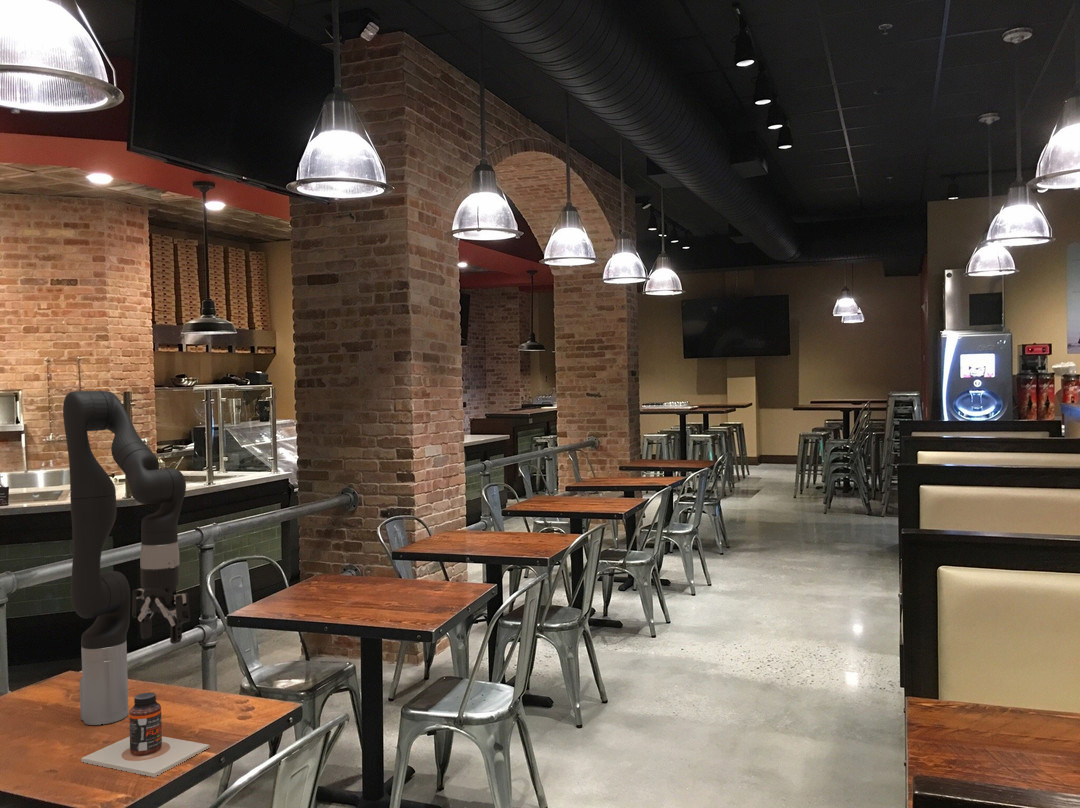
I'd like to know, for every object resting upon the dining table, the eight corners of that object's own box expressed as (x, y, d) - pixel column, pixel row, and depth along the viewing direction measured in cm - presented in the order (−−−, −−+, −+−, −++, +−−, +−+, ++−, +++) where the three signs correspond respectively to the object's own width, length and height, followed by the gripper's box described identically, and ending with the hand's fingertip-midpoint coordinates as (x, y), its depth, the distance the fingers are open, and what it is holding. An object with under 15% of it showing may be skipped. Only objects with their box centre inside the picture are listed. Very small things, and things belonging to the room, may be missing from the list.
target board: (81, 762, 168) (81, 757, 168) (139, 735, 181) (138, 731, 181) (154, 777, 161) (154, 772, 161) (209, 748, 173) (209, 744, 173)
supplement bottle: (149, 757, 167) (147, 701, 167) (123, 755, 169) (121, 699, 169) (168, 745, 173) (166, 690, 173) (143, 743, 174) (141, 689, 174)
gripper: (120, 564, 176) (121, 641, 176) (170, 570, 170) (171, 649, 170) (150, 558, 183) (151, 632, 183) (199, 563, 177) (200, 639, 177)
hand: (161, 640), depth 176 cm, fingers open, 8 cm apart
